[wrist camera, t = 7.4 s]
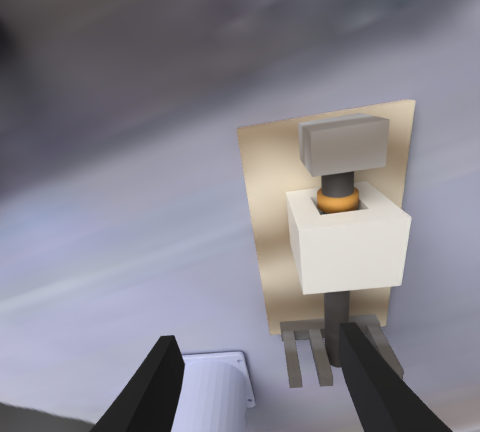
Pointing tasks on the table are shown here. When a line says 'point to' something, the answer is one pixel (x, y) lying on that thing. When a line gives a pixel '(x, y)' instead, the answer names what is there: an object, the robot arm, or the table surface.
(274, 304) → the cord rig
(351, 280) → the cord end block
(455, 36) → the table surface
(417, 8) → the table surface
